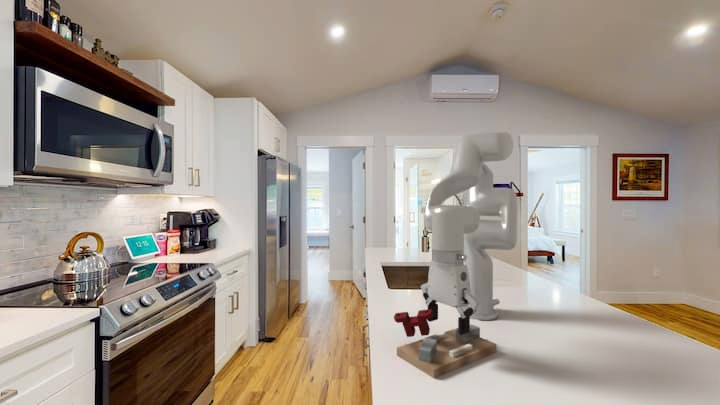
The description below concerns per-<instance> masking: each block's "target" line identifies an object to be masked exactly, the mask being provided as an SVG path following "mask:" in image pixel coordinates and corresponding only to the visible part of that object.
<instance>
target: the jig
mask: <svg viewBox="0 0 720 405" xmlns="http://www.w3.org/2000/svg"><path fill="white" fill-rule="evenodd" d="M480 333H481V327H480V326H476V325H474V324H470V329H469V333H466V334H463V335H460V334H459V333H458V327H455V328H453V329H451V330H446V331H444V332H443V331H441V332H439V333H436V334H432V335H428V336H427V337H423V338H422V339H419V340H417V341H413V342H410V343H407V344H404V345H401V346H397V347H396V356H397V357H399V358H400V359H402V360H403V361H405V362H406V363H408V364H410V365H411V366H413V367H415V368H416V369H418V370H419V371H421V372H422V373H425V375H427V376H429V377H431V378H433V379H435V378H438V377H441V376H444V375H445V374H448V373H450V372H453V371H456V370H458V369H460V368H462V367H465V366H467V365H470V364H472V363H474V362H476V361H477V362H478V361H479V360H481V359H484V358H486V357H489V356H490V355H493V354H495V353H497V343H495V342H493V341H491V340H488V339H485V338H482V337H481V334H480Z"/></svg>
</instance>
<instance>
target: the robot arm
mask: <svg viewBox="0 0 720 405" xmlns="http://www.w3.org/2000/svg"><path fill="white" fill-rule="evenodd" d="M513 149H514V140H513V137H512V135H511V134H510V133H509V132H507V131H504V132H503V131H500V132H496V131H495V132H487V133H475V134H469V135H465V136H463V137H461V138H460V139H459V140H458V141H457V143H456V145H455V151H454V155H453V158H452V164H451V168H450V172H449V174H448V175H446V176H445V177H443V178H442V179H441V180H439V182H438V183H437V184H436V185H435V186H433V188H432V189H431V190H430V193H429V194H428V197H427V200H426V204H425V208H424V213H423V223H424V224H423V225H424V227H425V228H426V230H428V231H429V232H431V260H430V262H429V268H428V277H427V282H425V283H423V284H421V285H420V288H421V292H422V297H423V298H424V300H425V305H426V306H427V309H432V311H433V316H432V318H430V319H428V320H427V322H428V323H429V322H431V323H432V322H434V321H437V320H438V319H439V304H438V303H440V304H444V305H447V306H449V307H452V308H455V309H456V310H457V313H458V314H459V317H458V319H457V322H458V327H457V328H458V333H459V334H460V335H463V334H466V333H469V329H470V325H471V324H470V323H471V322H470V321H471V319H472V320H477V321H490V320H491V321H492V320H496V319H497V318H498V317H499V312H498V311H497V310H496V309H495V306H497V305H500V303H501V301H500V299H499V298H494V297H493V296H494V294H493V293H494V280H493V279H494V263H493V262H494V261H493V259H492V258H491V256H490V255H489V254H488V252H487V251H486V250H500V251H510V250H513V249H514V248H515V247H516V246H517V242H518V207H519V206H518V197H517V193H516V191H515V190H514V189H513V188H510V187H494V173H493V171H492V170H491V169H490V167H489V166H488V165H487V164H485V162H486V163H488V162H489V163H490V162H501V161H505V160H507V159H509V158H510V157H511V155H512V153H513ZM464 192H466V194H465V195H466V196H465V197H466V198H465V205H464V204H462V205H461V204H460V205H458V204H457V205H455V204H448V205H447V204H444V203H445V201H446V200H448V199H449V198H451V197H453V196H456V195H459V194H460V193H464ZM481 217H499V218H501V220H499V219H496V220H494V219H481Z"/></svg>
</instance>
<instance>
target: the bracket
mask: <svg viewBox="0 0 720 405" xmlns="http://www.w3.org/2000/svg"><path fill="white" fill-rule="evenodd" d="M432 316H433V311H432V309H428V308H427V309H422V310H421V309H419V310H418V312H417V315H416V316H410V314H409V312H408V311H402V312H395V314H394V316H393V319H394V322H396V323H397V324H399V323H402V326H403V329H404V332H405V335H406V337H407V338H412V337H414V336H415V334H416V327H418V329H419V332H420V335H421V337H422V336H430V335H429V334H430V330H431V328H430V326H429V325H430V324H429V321H428V319H430V318H432Z"/></svg>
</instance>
